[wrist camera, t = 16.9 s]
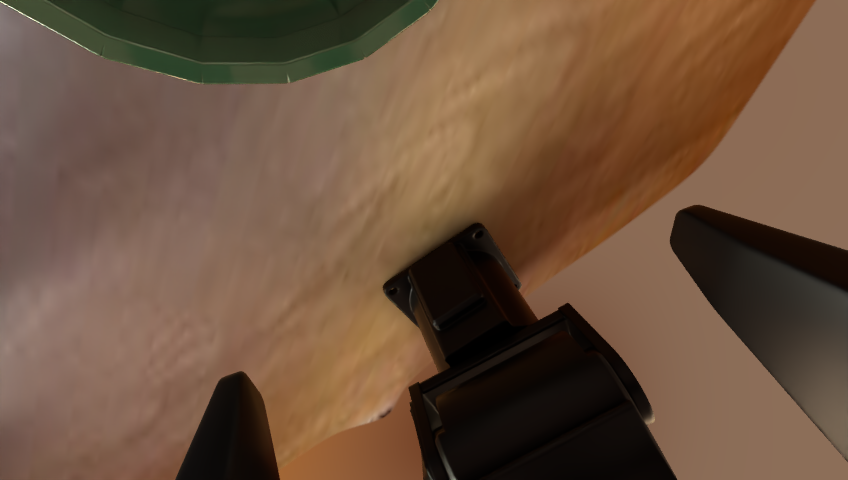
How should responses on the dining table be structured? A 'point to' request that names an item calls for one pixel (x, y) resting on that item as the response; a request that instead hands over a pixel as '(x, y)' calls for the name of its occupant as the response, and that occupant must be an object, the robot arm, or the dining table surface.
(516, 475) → the robot arm
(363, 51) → the bowl
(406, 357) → the dining table surface
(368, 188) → the dining table surface
